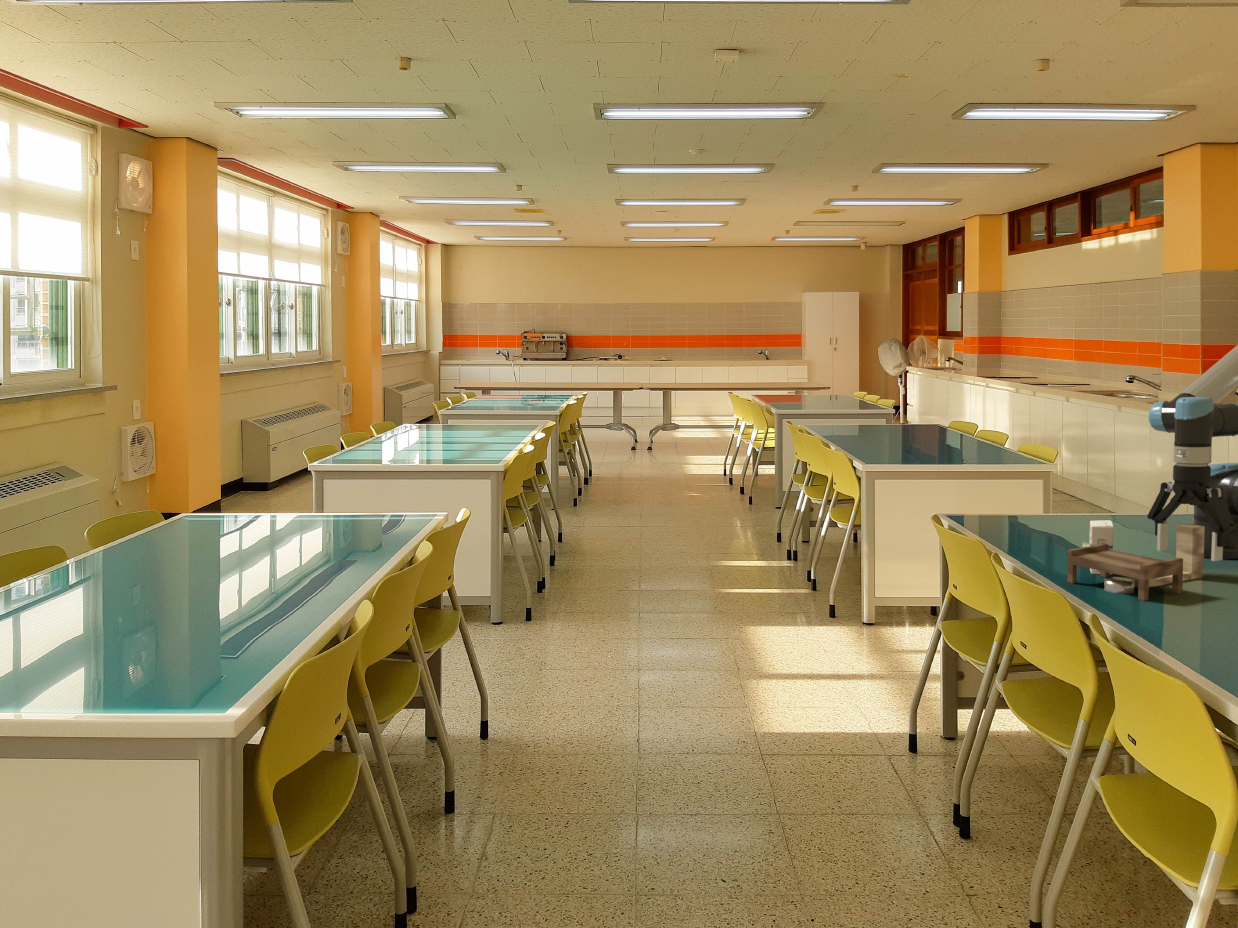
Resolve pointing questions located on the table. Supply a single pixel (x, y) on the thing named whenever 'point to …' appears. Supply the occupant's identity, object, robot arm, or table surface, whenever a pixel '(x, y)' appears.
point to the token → (1119, 585)
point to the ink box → (1101, 536)
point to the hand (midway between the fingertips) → (1188, 555)
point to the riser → (1125, 567)
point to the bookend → (1186, 554)
